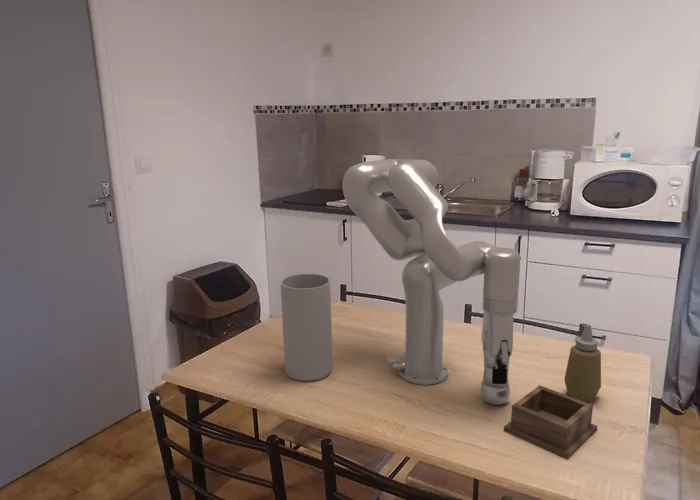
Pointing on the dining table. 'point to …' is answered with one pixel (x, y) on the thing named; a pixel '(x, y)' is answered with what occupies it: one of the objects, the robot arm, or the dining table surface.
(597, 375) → the squeeze bottle
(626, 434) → the dining table surface
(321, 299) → the cylinder vase
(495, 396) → the plastic bottle
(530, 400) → the bottle caddy
